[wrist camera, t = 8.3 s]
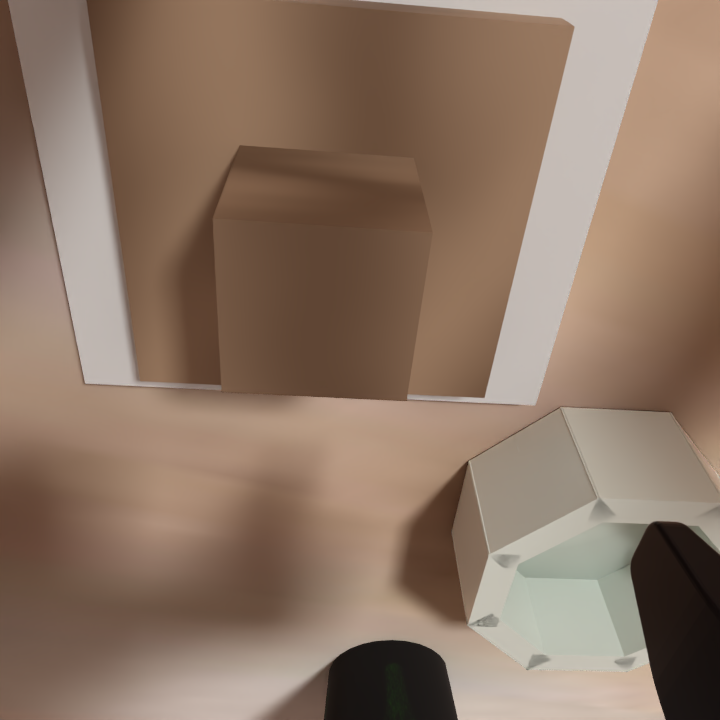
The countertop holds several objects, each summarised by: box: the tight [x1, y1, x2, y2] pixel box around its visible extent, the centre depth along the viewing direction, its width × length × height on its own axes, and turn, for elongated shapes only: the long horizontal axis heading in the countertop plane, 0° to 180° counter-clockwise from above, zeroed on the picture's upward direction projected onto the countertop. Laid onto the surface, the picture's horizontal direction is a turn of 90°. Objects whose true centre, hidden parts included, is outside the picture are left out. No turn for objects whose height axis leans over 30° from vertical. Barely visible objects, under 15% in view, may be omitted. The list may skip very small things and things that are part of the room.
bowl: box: [451, 407, 720, 672], centre depth 23 cm, size 9×9×4 cm
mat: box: [8, 0, 658, 405], centre depth 18 cm, size 14×12×1 cm
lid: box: [86, 0, 575, 401], centre depth 15 cm, size 10×10×5 cm
